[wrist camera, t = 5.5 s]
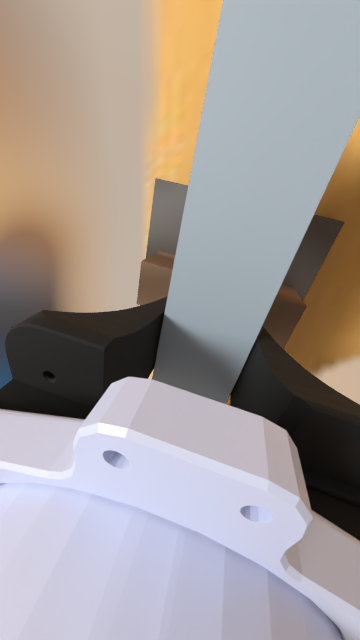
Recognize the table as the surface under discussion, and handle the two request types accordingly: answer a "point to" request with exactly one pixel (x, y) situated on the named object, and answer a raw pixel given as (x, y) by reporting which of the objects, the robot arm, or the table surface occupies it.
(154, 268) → the fulcrum
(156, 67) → the table surface
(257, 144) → the batten
